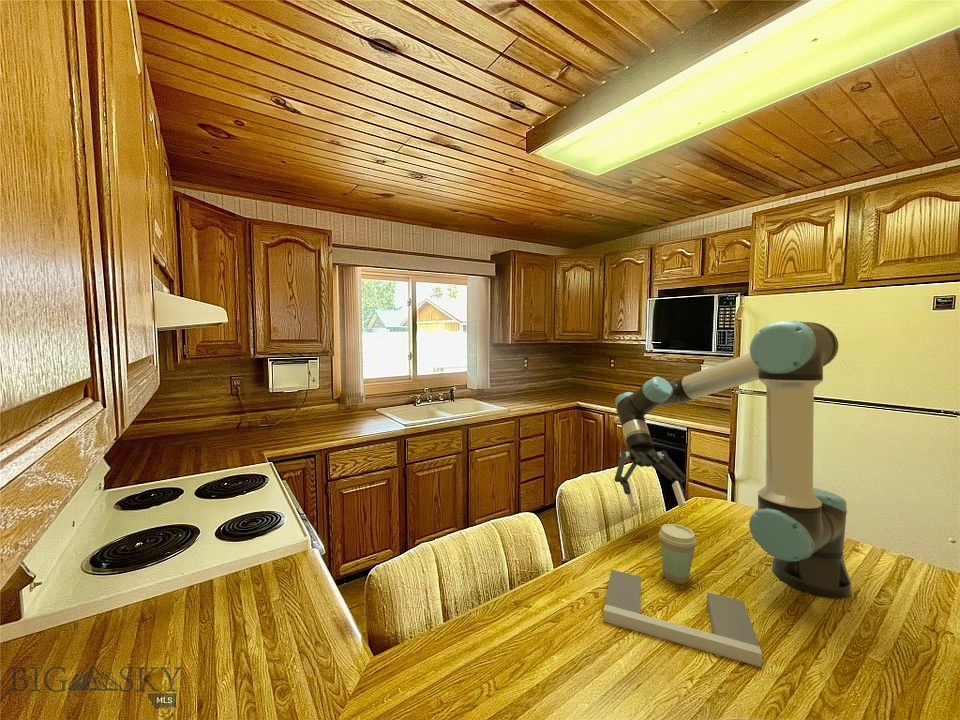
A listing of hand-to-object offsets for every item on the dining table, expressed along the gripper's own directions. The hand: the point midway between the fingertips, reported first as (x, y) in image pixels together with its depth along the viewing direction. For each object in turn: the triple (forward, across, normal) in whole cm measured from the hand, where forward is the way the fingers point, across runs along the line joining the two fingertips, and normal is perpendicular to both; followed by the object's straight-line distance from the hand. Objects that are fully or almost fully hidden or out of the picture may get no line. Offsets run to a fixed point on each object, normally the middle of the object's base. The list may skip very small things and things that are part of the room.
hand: (658, 505), depth 108 cm
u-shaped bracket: (+26, +7, +6) cm, 28 cm away
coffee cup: (+17, 0, -3) cm, 17 cm away
